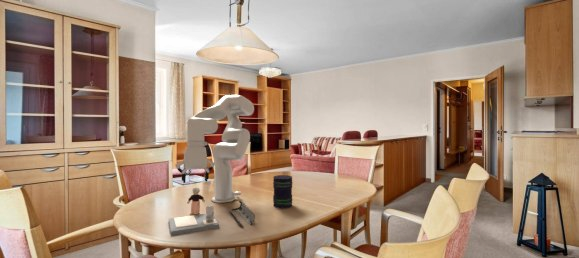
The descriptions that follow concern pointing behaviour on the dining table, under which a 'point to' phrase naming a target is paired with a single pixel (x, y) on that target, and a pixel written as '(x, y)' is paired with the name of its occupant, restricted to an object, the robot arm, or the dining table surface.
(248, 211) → the model building
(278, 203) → the storage jar
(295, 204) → the dining table surface
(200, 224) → the board
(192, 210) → the grandmother figurine
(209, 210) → the pin
